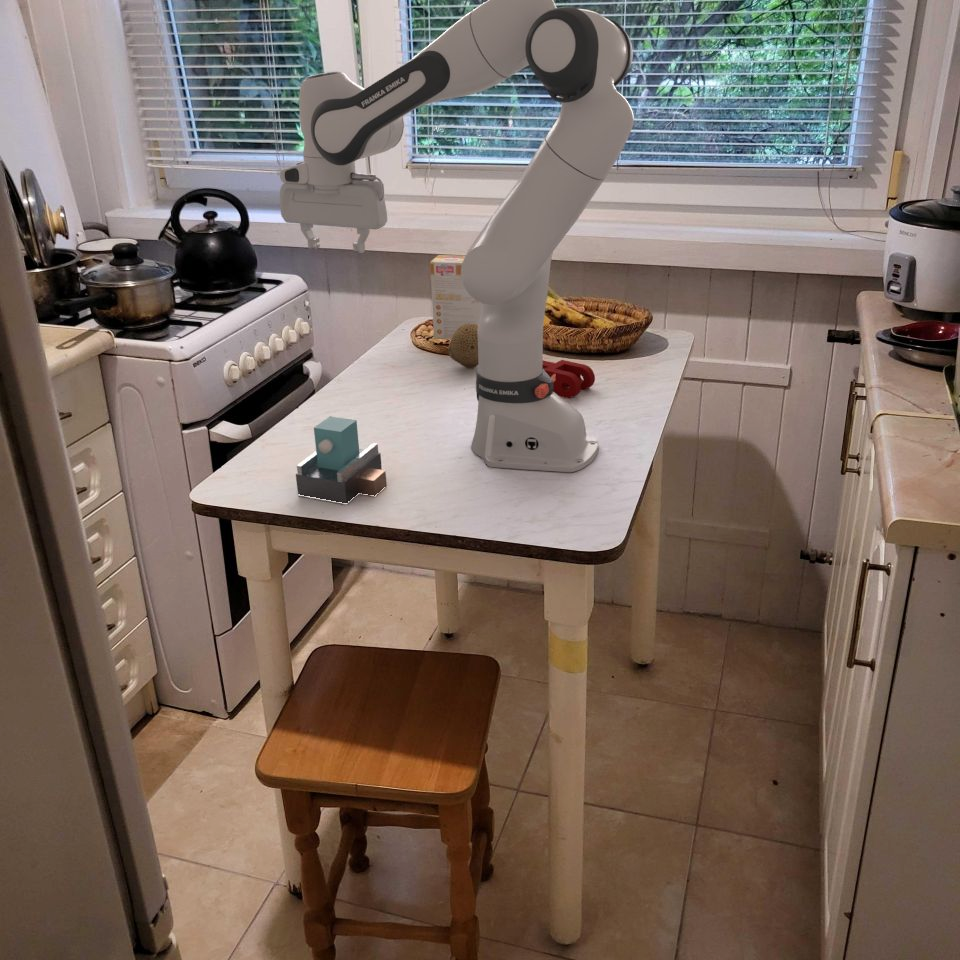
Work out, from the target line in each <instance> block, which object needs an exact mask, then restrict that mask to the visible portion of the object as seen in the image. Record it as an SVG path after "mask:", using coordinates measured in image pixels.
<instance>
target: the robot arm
mask: <svg viewBox="0 0 960 960" xmlns="http://www.w3.org/2000/svg"><path fill="white" fill-rule="evenodd" d="M633 56H634V51H633V44H632V41H631V38H630V36H629V35H628V33H627V32H626V30H625V29H624V28H623V27H622V25H620V24H619V23H617V22H616V21H615V20H613V19H610V18H607V17H604V16H603V15H601V14H600V13H598V12H596V11H593V10H589V9H585V8H584V9H583V8H577V7H573V6H561V7H557V5H556V3H555V1H554V0H486V1H484V2H483V3H481V4H479V6H477V7H475V8H474V9H472V10H471V11H470V12H468V13H467V14H465V15H464V16H463V17H461V18H460V19H459V20H458V21H456V22H455V23H454V24H452V25H451V26H450V27H449V28H447V29H446V30H445V31H444V32H442V34H441V35H439V36H438V37H437V38H436V39H435V40H433V41H432V42H430V43H429V45H427V46H426V47H425V48H423V49H422V50H420V51H419V52H417V54H416V55H415V56H413V57H412V58H411V59H410V60H408V61H407V62H405V63H404V64H402V65H400V66H399V67H398V68H396V69H395V70H393V71H392V72H390V73H388V74H386V75H385V76H383V77H382V78H380V79H378V80H377V81H376V82H374V83H372V84H370V85H369V86H367V87H366V88H365V87H363V86H360V85H359V84H357V83H356V82H354V81H352V80H351V79H350V78H349V77H348V76H347V74H346V73H344V72H342V71H335V70H333V71H327V72H322V73H317V74H312V75H309V76H306V77H305V78H304V79H303V80H302V81H301V84H300V88H299V97H298V98H299V99H298V105H299V107H298V108H299V125H300V130H301V133H302V136H303V141H304V144H303V150H302V151H303V152H302V153H303V154H302V155H303V161H301V162H299V163H296V164H295V165H292V166H289V167H286V168H283V169H281V170H280V171H279V179H280V180H281V182H282V183H283V184H282V185H281V186H280V188H279V207H280V215H281V217H282V220H284V222H285V223H287V224H299V225H300V231H301V232H302V234H303V236H304V237H305V238H306V240H307V248H308V249H310V250H317V249H320V246H321V244H320V237H316V235H315V234H314V231H313V230H312V229H313V228H314V226H326V227H338V228H349V229H350V228H351V229H356V234H357V235H359V236H358V240H357V241H355V242H353V243H352V251H353V253H355V254H356V253H357V254H363V253H365V251H366V243H365V242H366V241H367V239H368V237H369V235H370V233H371V232H370V231H371V230H380V229H381V228H384V227H385V225H386V224H387V222H388V213H387V211H388V210H387V206H386V201H385V183H384V182H383V181H382V180H381V178H379V177H378V176H377V174H373V173H368V174H367V173H360V172H356V163H355V162H356V161H357V160H361V159H364V158H365V159H366V158H368V157H371V156H376V155H378V154H381V153H386V152H388V151H389V150H391V149H393V148H395V147H396V146H397V145H398V144H399V142H400V141H401V140H402V137H403V134H404V118H403V117H404V116H406V115H408V114H409V113H410V112H412V111H414V110H416V109H419V108H421V107H422V106H426V105H430V104H432V103H436V102H440V101H443V100H444V101H446V100H450V99H456V98H461V97H467V96H472V95H475V94H477V93H481V92H483V91H486V90H488V89H490V88H492V87H495V86H497V85H499V84H500V83H502V82H505V81H506V80H507V79H510V78H511V77H512V76H514V75H515V74H516V73H517V74H518V72H520V71H521V70H523V69H525V68H527V67H528V66H529V68H530V69H531V72H533V74H534V75H535V77H536V78H537V79H538V81H539V82H540V83H541V84H542V86H543V87H544V89H545V90H546V92H547V94H548V95H549V97H551V99H552V100H553V101H554V102H556V103H561V106H560V107H561V108H560V111H559V114H558V117H557V118H556V120H555V122H554V124H553V126H552V127H551V128H550V130H549V131H548V133H547V134H546V136H545V137H544V139H543V141H542V143H541V144H540V146H539V147H538V148H537V150H536V152H535V154H534V155H533V157H531V160H530V161H529V163H528V165H527V166H526V168H525V169H524V171H523V172H522V174H521V176H520V178H519V179H518V180H517V182H516V183H515V184H514V186H513V187H512V188H511V190H510V191H509V193H508V194H507V195H506V196H505V198H504V199H503V200H502V202H501V203H500V205H499V206H498V207H497V209H495V211H494V213H493V214H492V215H491V217H490V218H489V219H488V221H487V223H486V224H485V225H484V226H483V228H482V229H481V231H480V232H479V234H478V236H477V237H476V239H475V240H474V242H473V243H472V244H471V246H470V248H469V249H468V250H467V252H466V254H465V255H464V256H465V258H464V260H463V263H462V266H461V279H462V282H463V285H464V287H465V289H466V291H467V292H468V293H469V294H470V295H471V296H472V297H473V298H474V299H475V300H477V301H479V302H481V303H483V307H482V312H481V317H480V320H479V323H478V369H477V370H476V373H475V374H476V375H475V376H476V377H475V379H476V380H475V392H476V400H477V404H478V405H477V416H476V423H475V429H474V434H473V438H472V442H471V444H470V447H471V450H472V451H473V453H474V454H475V455H477V456H479V457H480V458H481V459H483V460H484V462H485V464H487V467H490V468H499V469H500V468H502V469H516V470H530V471H544V472H545V471H546V472H558V473H560V472H561V473H574V472H576V471H580V470H581V469H584V468H585V467H587V466H588V465H590V464H591V463H592V462H593V460H595V458H596V457H597V455H598V453H599V448H600V447H599V441H598V439H597V438H596V437H595V436H592V435H588V434H587V432H586V431H587V429H586V423H585V420H584V417H583V415H582V413H581V412H580V411H579V410H577V409H576V408H575V407H574V406H572V405H571V404H569V403H568V402H567V401H566V400H565V399H563V397H560V396H558V395H557V394H556V393H555V392H553V382H554V381H555V380H556V378H555V376H556V374H554V375H553V376H552V377H550V376H549V375H548V374H547V373H546V372H545V370H544V369H543V359H544V357H543V356H544V355H543V354H544V353H543V352H544V351H543V350H544V349H543V347H544V346H543V345H544V321H545V313H546V308H547V307H546V306H547V299H548V293H549V284H550V274H551V263H552V258H553V253H554V251H555V250H556V249H557V247H558V246H559V244H560V243H561V242H562V240H564V238H565V236H566V235H567V234H568V233H569V231H570V230H571V229H572V227H573V226H574V225H575V224H576V223H577V220H578V219H579V218H580V216H581V215H582V213H583V212H584V211H585V209H586V207H587V206H588V204H589V203H590V202H591V200H592V198H593V197H594V196H595V195H596V193H597V191H598V190H599V188H600V187H601V186H602V184H603V183H604V181H605V179H606V178H607V176H608V175H609V174H610V172H611V170H612V169H613V167H614V165H615V163H616V162H617V160H618V158H619V157H620V155H621V153H622V151H623V149H624V148H625V145H626V143H627V141H628V139H629V136H630V135H631V132H632V129H633V126H634V123H635V121H634V120H635V115H634V112H633V109H632V107H631V105H630V103H629V102H628V100H627V99H626V98H625V96H623V95H622V94H621V93H620V92H619V91H618V90H617V89H616V87H617V86H618V85H619V84H621V82H623V81H624V79H625V78H626V77H627V75H628V73H629V72H630V69H631V67H632V63H633V59H634V58H633Z"/></svg>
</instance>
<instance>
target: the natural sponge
mask: <svg viewBox="0 0 960 960" xmlns="http://www.w3.org/2000/svg"><path fill="white" fill-rule="evenodd" d="M447 351H448V355H449V357H450V358H451V359H452V360H453V361H455V362H457V363H458V364H459V365H461V366H462V367H464V368H467V369H475V368H476V367H477V366H478V325H477V324H470V323H467V324H464V325H462V326H460V327H459V328H458V329H457V330H456V331H455V333H454V335H453V337H452V340H451V342H450V344H449V345H448V347H447Z"/></svg>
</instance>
